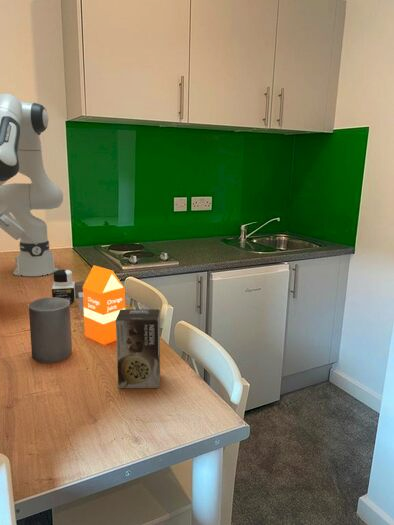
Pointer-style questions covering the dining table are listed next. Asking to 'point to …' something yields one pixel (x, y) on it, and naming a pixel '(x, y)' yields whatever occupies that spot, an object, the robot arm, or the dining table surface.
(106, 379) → the dining table surface
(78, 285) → the walnut block
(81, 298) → the grey painted block
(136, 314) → the coffee box
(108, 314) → the orange juice
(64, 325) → the pillar candle
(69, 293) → the medicine bottle
